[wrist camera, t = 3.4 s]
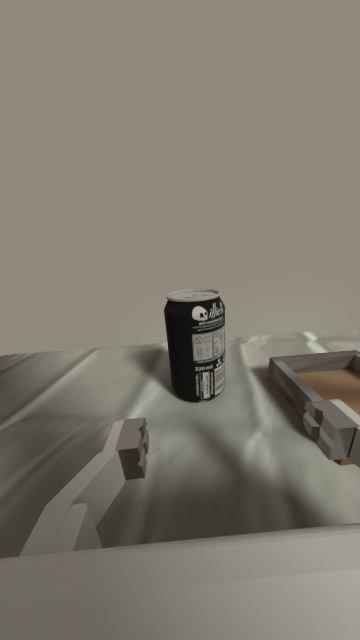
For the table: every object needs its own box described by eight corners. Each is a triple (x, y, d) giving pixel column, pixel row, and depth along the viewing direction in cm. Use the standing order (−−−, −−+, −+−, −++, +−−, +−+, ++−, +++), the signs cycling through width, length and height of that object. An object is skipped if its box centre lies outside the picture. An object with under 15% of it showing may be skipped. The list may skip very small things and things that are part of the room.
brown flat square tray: (486, 452, 14) (503, 423, 13) (340, 465, 14) (348, 436, 13) (351, 369, 24) (355, 350, 23) (268, 376, 24) (269, 357, 23)
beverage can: (180, 369, 27) (173, 289, 23) (225, 373, 25) (225, 287, 22) (165, 402, 21) (152, 300, 18) (223, 410, 19) (223, 299, 16)
